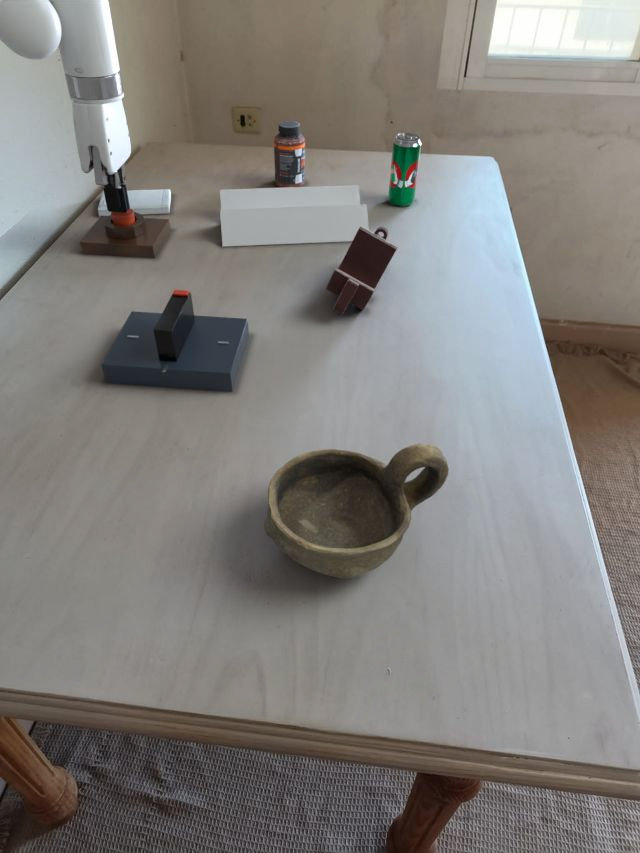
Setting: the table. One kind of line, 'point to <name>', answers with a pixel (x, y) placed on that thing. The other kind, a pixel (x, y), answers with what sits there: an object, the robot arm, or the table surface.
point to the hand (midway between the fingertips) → (119, 209)
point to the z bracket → (291, 215)
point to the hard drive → (143, 202)
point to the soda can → (404, 169)
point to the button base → (126, 237)
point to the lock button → (123, 218)
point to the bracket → (361, 269)
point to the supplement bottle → (289, 155)
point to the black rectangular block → (174, 326)
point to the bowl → (349, 506)
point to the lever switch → (198, 361)
